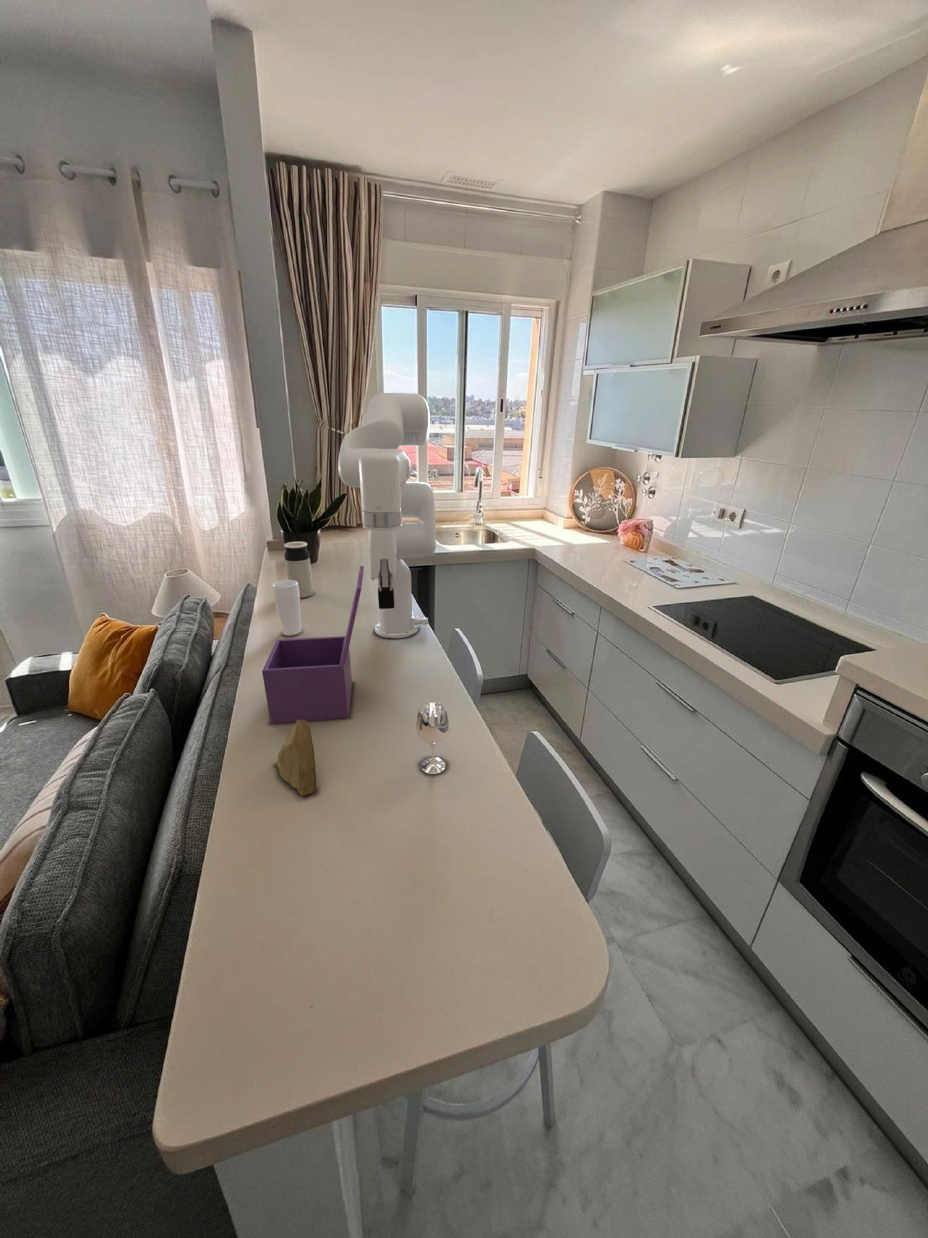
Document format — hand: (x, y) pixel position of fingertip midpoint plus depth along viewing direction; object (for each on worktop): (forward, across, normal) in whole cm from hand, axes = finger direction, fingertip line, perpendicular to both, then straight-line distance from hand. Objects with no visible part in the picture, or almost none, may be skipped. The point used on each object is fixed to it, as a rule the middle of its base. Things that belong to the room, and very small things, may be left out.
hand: (386, 607), depth 103 cm
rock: (+22, +25, -17) cm, 37 cm away
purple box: (+22, 0, -17) cm, 28 cm away
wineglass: (+22, +25, +7) cm, 34 cm away
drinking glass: (+22, -39, -28) cm, 53 cm away
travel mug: (+22, -72, -30) cm, 81 cm away
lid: (+1, 0, -7) cm, 7 cm away
